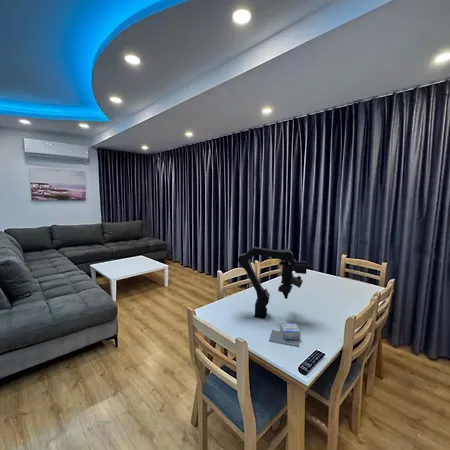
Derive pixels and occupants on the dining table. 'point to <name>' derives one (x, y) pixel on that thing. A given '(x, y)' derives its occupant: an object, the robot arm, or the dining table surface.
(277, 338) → the mat
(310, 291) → the dining table surface
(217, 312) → the dining table surface
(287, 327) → the medicine box
